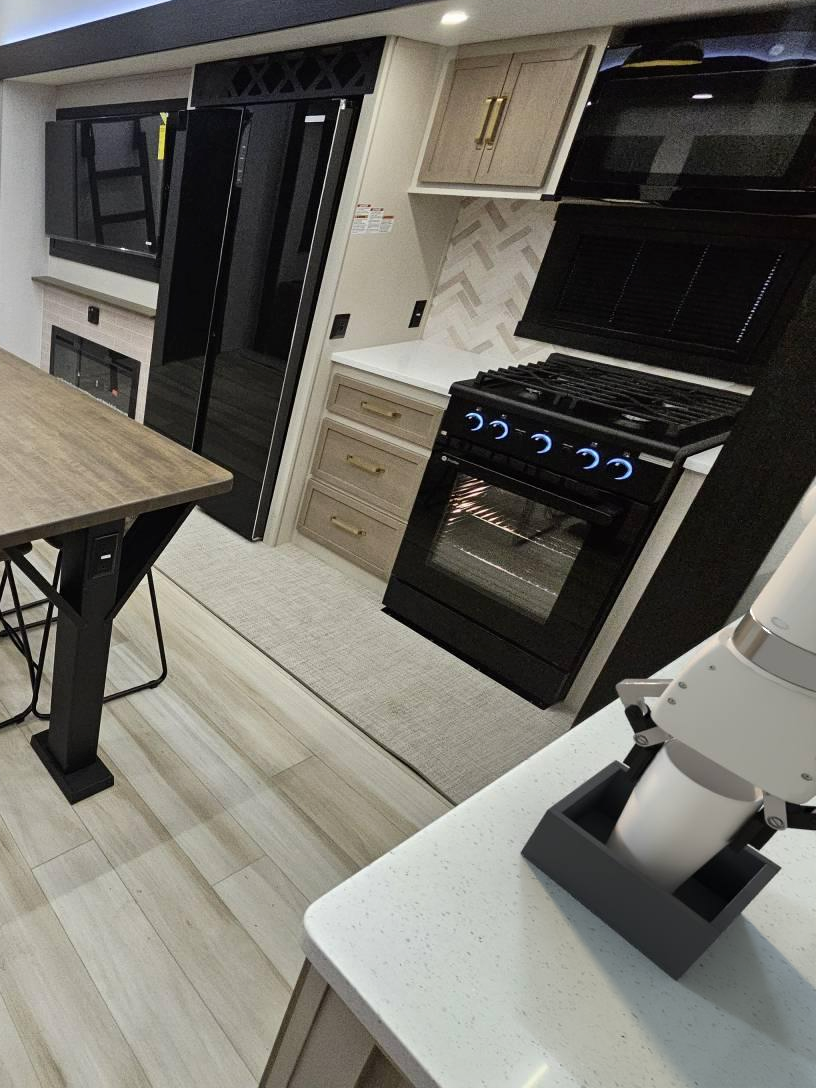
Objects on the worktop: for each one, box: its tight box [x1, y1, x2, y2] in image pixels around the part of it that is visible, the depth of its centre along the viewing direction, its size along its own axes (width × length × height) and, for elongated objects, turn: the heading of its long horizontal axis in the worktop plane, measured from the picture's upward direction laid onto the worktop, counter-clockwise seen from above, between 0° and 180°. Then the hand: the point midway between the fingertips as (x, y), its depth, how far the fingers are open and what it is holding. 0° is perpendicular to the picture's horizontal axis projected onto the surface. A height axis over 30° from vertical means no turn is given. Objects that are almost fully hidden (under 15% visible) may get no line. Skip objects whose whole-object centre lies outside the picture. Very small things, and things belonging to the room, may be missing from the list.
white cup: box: [605, 738, 764, 895], centre depth 60 cm, size 7×7×15 cm
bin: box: [520, 759, 782, 982], centre depth 63 cm, size 13×13×7 cm
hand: (685, 807), depth 59 cm, fingers closed on white cup, 6 cm apart
